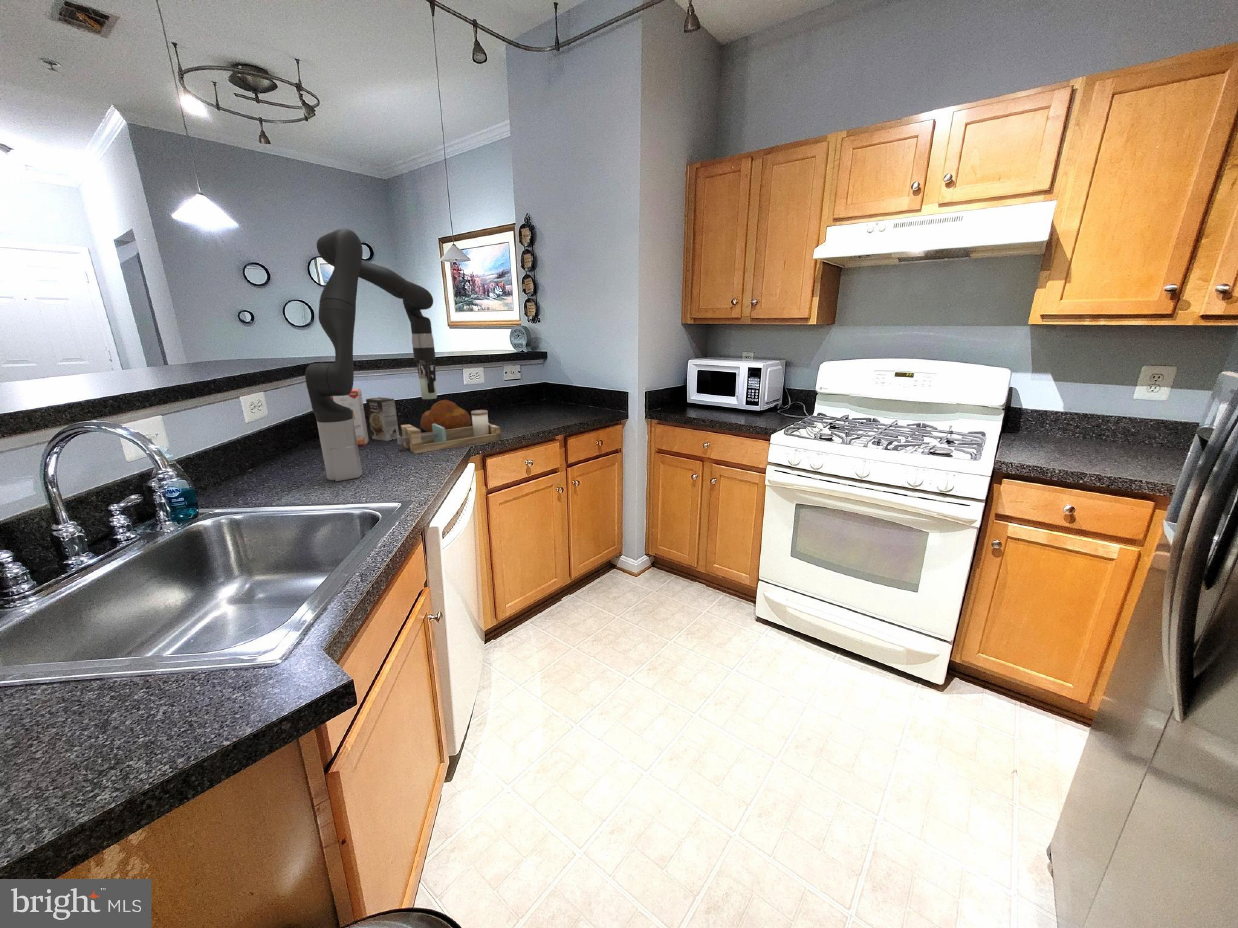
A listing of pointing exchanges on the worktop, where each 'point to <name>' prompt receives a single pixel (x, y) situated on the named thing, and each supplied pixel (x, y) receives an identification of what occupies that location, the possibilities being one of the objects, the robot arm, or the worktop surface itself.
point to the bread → (445, 416)
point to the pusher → (428, 435)
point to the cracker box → (355, 413)
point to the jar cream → (480, 422)
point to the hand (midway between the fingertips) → (428, 392)
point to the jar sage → (426, 388)
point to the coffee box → (382, 418)
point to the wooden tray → (416, 441)
